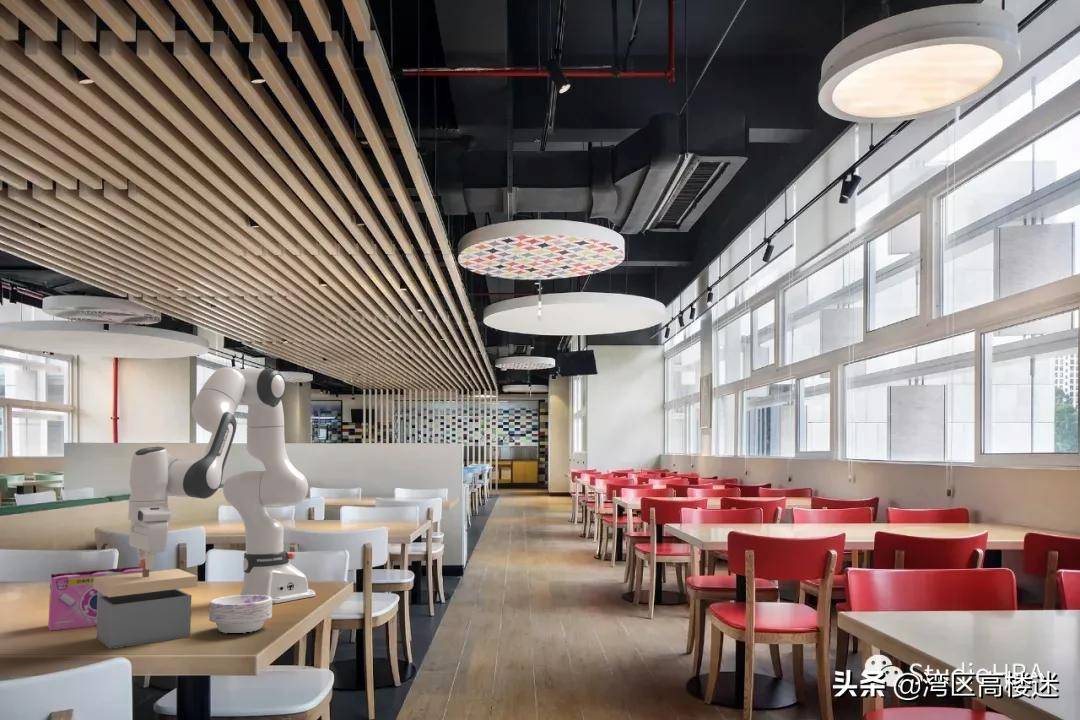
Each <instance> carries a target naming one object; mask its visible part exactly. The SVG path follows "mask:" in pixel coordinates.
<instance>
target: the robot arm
mask: <svg viewBox="0 0 1080 720" xmlns="http://www.w3.org/2000/svg"><path fill="white" fill-rule="evenodd" d="M286 388H287V387H286V381H285V378H284V376H283V374H282V373H281V372H280V371H279V370H276V369H272V368H258V367H257V368H256V367H253V368H252V367H251V368H250V367H249V368H241V369H235V368H234V367H230V366H223V367H220V368H218V369H217V370H215V371H214V372H213V373H212V374H211V376H209V378H208V379H207V380H206V382H204V384H203V386H202V387H201V389H200V390H199V392H198V394H197V395H196V397H195V399H194V401H193V403H192V406H191V415H192V418H193V420H194V421H195V422H196V424H197V425H198V426H199V427H200V428H202V429H203V430H204V431H207V432H209V433H211V436H210V438H209V441H208V444H207V447H206V450H205V452H204V454H203V455H202V456H200V457H198V458H195V459H178V458H177V457H175V456H173V455H171V454H170V453H169V452H168V451H167V449H166V447H163V446H152V447H144V448H140V449H137V450H136V451H135V452H134V454H133V456H132V460H131V463H130V472H129V486H130V496H129V498H128V499H129V500H128V519H127V520H129V521H130V525H129V526H130V527H129V535H128V536H129V538H128V543H129V546H130V547H132V548H135V549H137V557H138V564H139V563H140V561H141V560H143V559H145V562H144V568H145V569H147V570H148V569H150V570H152V569H154V567H155V566H154V563H155V559H156V556H157V554H158V553H164V552H165V551H166V548H167V546H168V536H169V522H168V521H171V520H172V512H171V510H170V509H169V505H168V502H169V498H168V497H179V498H180V497H183V498H184V497H185V498H193V499H194V498H195V499H204V500H206V499H208V498H211V497H212V496H214V494H215V493H216V492H217V491H218V490H219V488H220V486H221V484H222V483H223V482H222V480H223V475H224V468H225V465H226V462H227V459H228V456H229V453H230V451H231V447H232V444H233V441H234V438H235V434H236V430H237V427H238V426H237V420H236V419H237V418H236V417H235V413H236V411H237V409H238V406H247V407H248V408H247V417H246V449H247V452H248V454H249V455H250V456H251V457H253V458H254V459H257V460H259V461H260V462H261V463H262V465H264V468H265V470H244V471H238V472H234V473H231V474H229V476H227V478H226V479H225V481H224V484H223V487H222V488H223V489H222V490H223V498H224V499H225V500H226V502H227V503H228V504H229V505H231V506H232V507H233V508H234V509H235V510H236V512H237V513H238V514H239V516H240V517H241V520H242V522H243V525H244V532H245V535H244V536H245V552H244V554H243V560H242V561H243V566H242V567H243V568H242V569H243V572H244V573H243V582H242V586H241V592H240V594H239V595H265V596H270V597H272V599H273V600H272V604H279V603H285V602H291V601H296V600H302V599H305V598H307V599H308V598H311V597H316V591H315V590H314V589H310V588H309V584H308V579H307V576H306V574H304V572H303V571H301V570H299V569H298V568H296V567H295V566H294V565H293V564H291V563H290V560H294V559H295V558H296V555H295V554H294V553H295V552H286V551H285V550H284V535H285V533H284V532H285V531H284V530H285V528H284V526H283V524H282V523H281V522H280V521H279V520H278V519H275V518H273V517H271V516H270V515H269V512H268V510H267V507H289V506H294V505H298V504H301V503H302V502H303V501H304V500H305V499H306V497H307V495H308V492H309V483H308V480H307V477H306V476H305V475H304V474H303V473H302V472H300V471H299V470H298V469H297V468H296V466H294V465H293V464H292V462H291V460H290V458H289V456H288V454H287V453H288V452H287V449H286V441H285V440H286V439H285V438H286V437H285V415H284V405H283V403H282V399H283V397H284V395H285V392H286Z"/></svg>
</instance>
